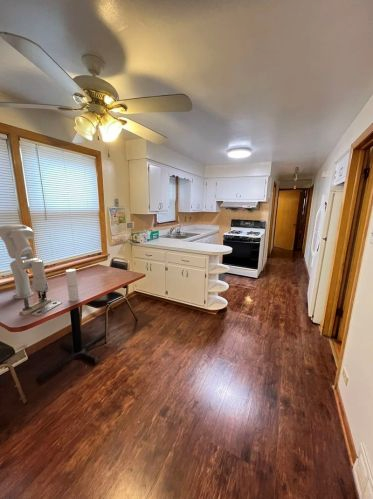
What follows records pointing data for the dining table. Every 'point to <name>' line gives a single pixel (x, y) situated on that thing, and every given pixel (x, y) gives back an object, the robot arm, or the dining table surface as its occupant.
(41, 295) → the slide pin
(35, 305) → the divider rail
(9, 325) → the dining table surface
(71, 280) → the cylindrical container
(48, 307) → the flange plate
